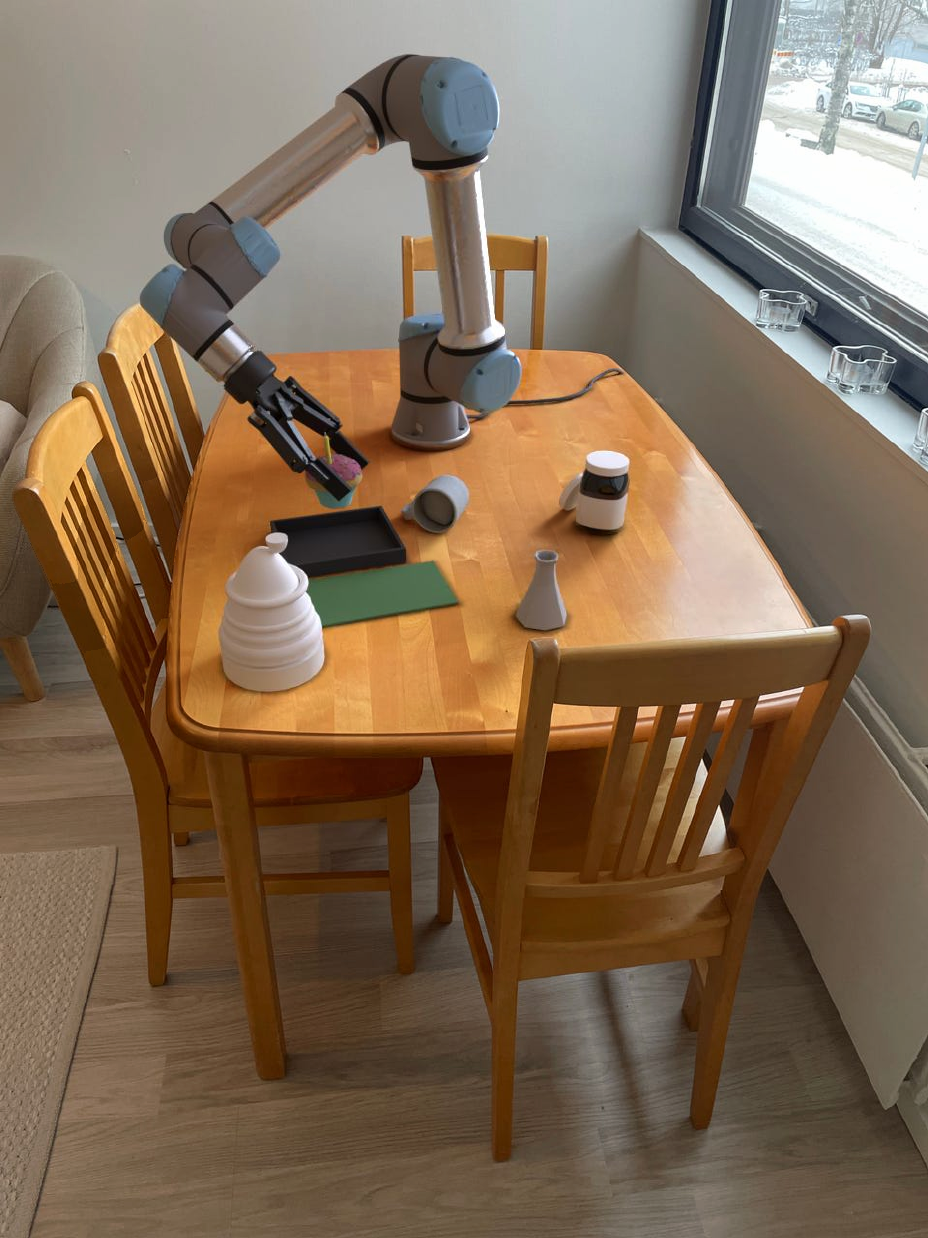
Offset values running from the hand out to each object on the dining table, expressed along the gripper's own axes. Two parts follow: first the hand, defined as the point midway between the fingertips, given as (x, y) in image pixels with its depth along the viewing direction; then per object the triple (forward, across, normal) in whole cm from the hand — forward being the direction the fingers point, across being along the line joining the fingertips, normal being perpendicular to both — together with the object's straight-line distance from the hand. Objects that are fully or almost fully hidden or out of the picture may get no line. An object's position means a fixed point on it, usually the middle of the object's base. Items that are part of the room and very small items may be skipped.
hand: (354, 481), depth 135 cm
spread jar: (+33, -18, +16) cm, 41 cm away
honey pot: (+7, +30, -10) cm, 32 cm away
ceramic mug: (+15, -12, -2) cm, 19 cm away
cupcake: (0, 0, -5) cm, 5 cm away
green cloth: (+13, +11, -4) cm, 18 cm away
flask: (+30, +12, +13) cm, 35 cm away
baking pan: (+6, 0, -11) cm, 12 cm away
